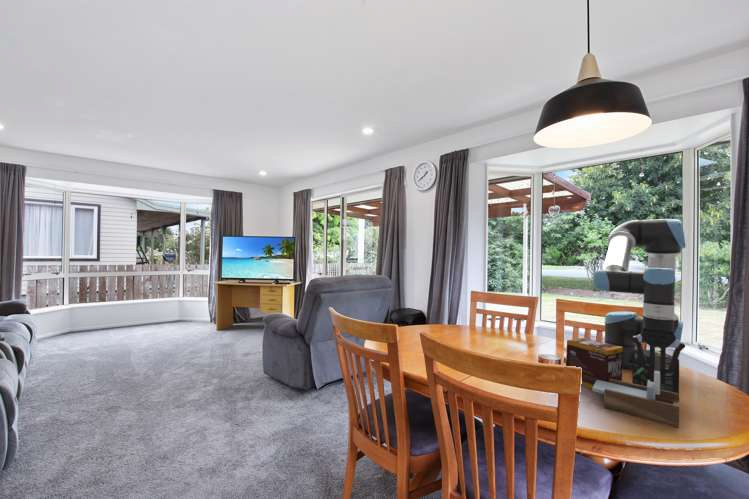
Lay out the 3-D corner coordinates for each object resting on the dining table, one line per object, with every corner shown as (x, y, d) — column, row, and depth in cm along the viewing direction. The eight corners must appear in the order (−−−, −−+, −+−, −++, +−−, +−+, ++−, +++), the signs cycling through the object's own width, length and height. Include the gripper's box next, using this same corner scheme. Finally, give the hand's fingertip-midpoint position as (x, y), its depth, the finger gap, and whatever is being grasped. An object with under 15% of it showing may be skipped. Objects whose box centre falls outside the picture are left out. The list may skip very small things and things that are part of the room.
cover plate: (596, 382, 121) (597, 368, 121) (655, 395, 111) (655, 380, 111) (592, 390, 114) (593, 375, 114) (654, 406, 104) (655, 389, 104)
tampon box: (679, 402, 116) (680, 359, 116) (648, 399, 118) (649, 357, 118) (659, 389, 127) (660, 349, 126) (631, 387, 128) (632, 347, 128)
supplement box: (606, 394, 122) (607, 350, 121) (565, 379, 135) (566, 339, 135) (623, 389, 126) (623, 346, 126) (581, 375, 140) (582, 336, 140)
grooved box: (609, 395, 120) (609, 378, 120) (677, 412, 109) (678, 393, 109) (604, 408, 110) (604, 389, 110) (678, 428, 99) (679, 407, 99)
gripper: (631, 316, 108) (630, 390, 108) (687, 322, 100) (685, 403, 100) (632, 312, 114) (631, 383, 114) (685, 318, 106) (684, 395, 106)
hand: (656, 392), depth 107 cm, fingers closed
